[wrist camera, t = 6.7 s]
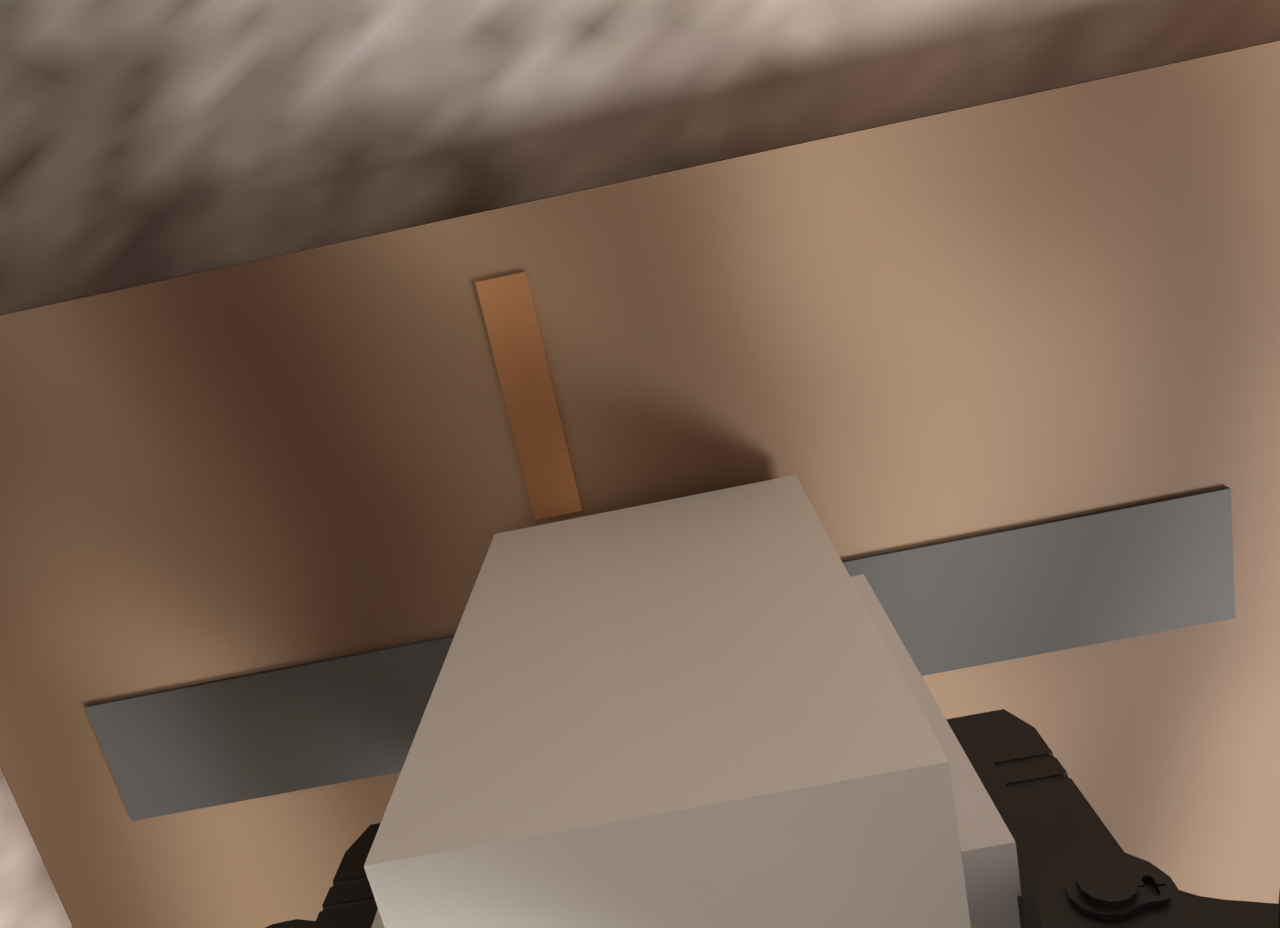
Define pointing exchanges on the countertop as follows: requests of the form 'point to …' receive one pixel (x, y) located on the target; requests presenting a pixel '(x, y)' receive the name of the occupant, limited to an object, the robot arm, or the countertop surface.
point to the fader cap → (671, 738)
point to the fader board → (669, 473)
